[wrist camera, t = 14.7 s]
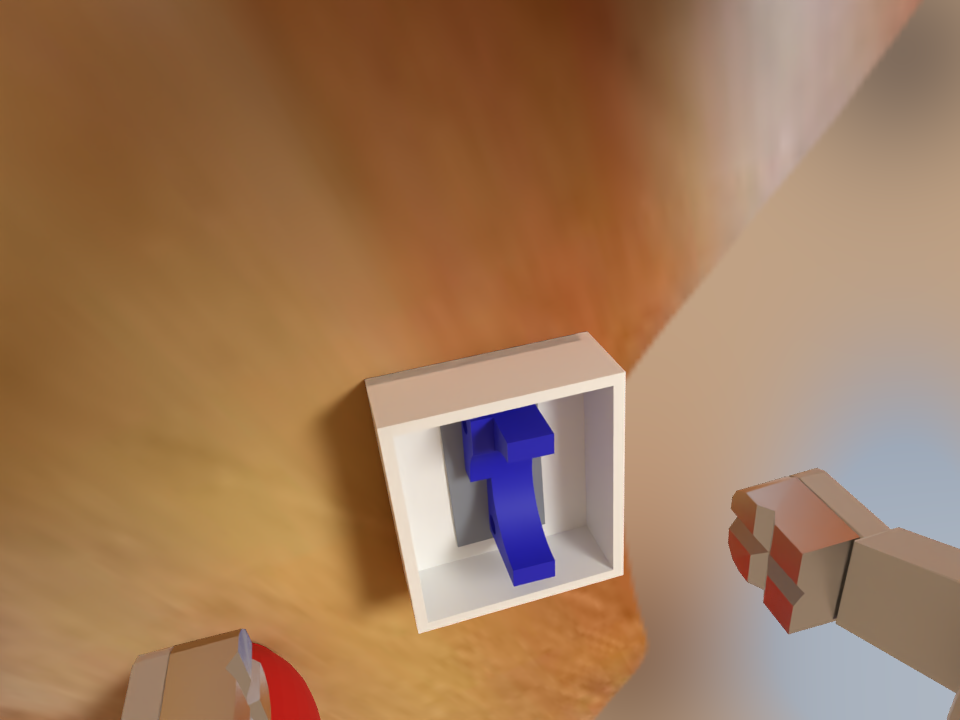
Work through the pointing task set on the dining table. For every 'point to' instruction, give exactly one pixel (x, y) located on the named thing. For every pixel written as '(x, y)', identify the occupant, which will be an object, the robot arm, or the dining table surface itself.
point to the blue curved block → (512, 485)
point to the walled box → (463, 504)
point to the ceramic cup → (285, 687)
